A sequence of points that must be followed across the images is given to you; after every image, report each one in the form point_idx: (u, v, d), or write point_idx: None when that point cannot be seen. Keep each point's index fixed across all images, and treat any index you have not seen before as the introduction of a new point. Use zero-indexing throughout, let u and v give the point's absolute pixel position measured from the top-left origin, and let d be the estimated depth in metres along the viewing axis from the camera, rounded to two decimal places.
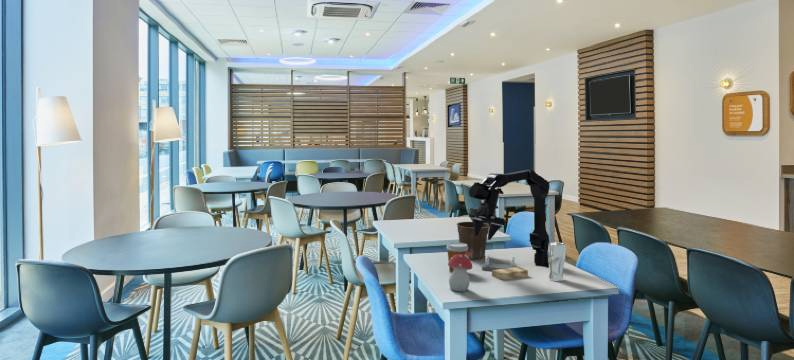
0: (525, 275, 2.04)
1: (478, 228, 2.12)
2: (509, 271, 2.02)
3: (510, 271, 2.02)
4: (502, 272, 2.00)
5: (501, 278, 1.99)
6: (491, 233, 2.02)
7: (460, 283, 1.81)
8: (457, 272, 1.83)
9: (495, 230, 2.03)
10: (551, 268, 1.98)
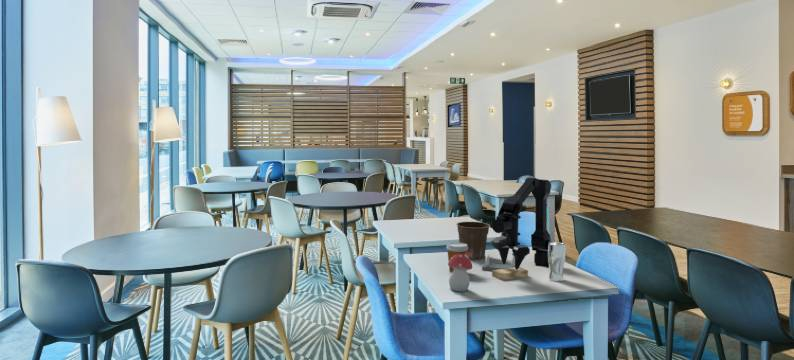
0: (525, 275, 2.04)
1: (504, 255, 2.08)
2: (509, 271, 2.02)
3: (510, 271, 2.02)
4: (502, 272, 2.00)
5: (501, 278, 1.99)
6: (517, 263, 1.98)
7: (460, 283, 1.81)
8: (457, 272, 1.83)
9: (521, 259, 1.98)
10: (551, 268, 1.98)
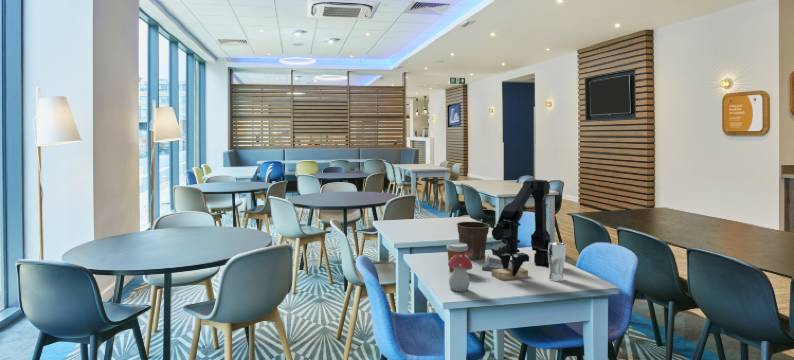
0: (525, 275, 2.03)
1: (506, 263, 2.07)
2: (509, 271, 2.02)
3: (510, 271, 2.02)
4: (501, 272, 2.01)
5: (500, 278, 1.99)
6: (515, 269, 2.00)
7: (460, 283, 1.81)
8: (457, 272, 1.83)
9: (518, 265, 2.00)
10: (551, 268, 1.98)
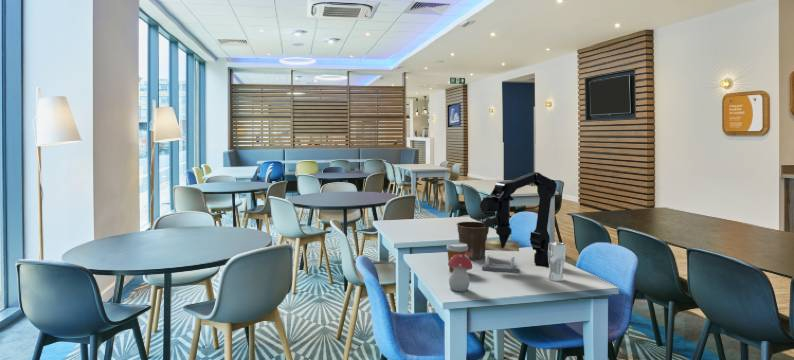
0: (516, 249, 2.09)
1: None
2: (498, 243, 2.11)
3: (499, 243, 2.11)
4: (490, 243, 2.11)
5: (487, 248, 2.10)
6: (502, 241, 2.08)
7: (460, 283, 1.81)
8: (457, 272, 1.83)
9: (505, 238, 2.07)
10: (551, 268, 1.98)
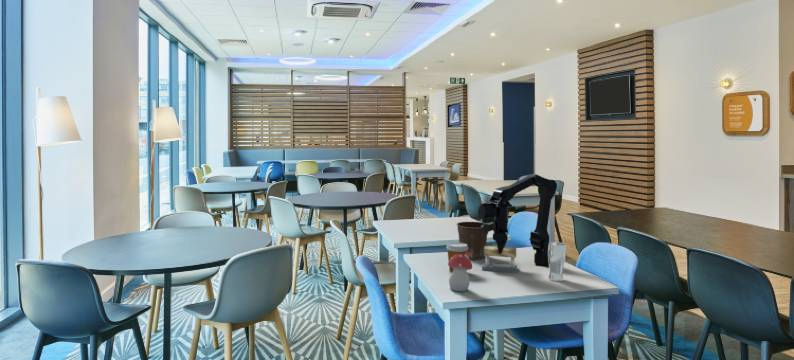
0: (513, 255, 2.10)
1: None
2: (496, 248, 2.13)
3: (497, 249, 2.13)
4: (488, 248, 2.14)
5: (485, 253, 2.13)
6: (499, 247, 2.10)
7: (460, 283, 1.81)
8: (457, 272, 1.83)
9: (502, 244, 2.09)
10: (551, 268, 1.98)
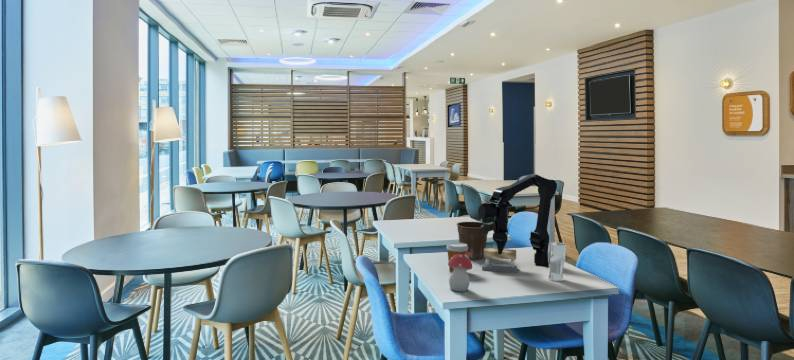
0: (513, 257, 2.10)
1: None
2: (496, 251, 2.13)
3: (497, 251, 2.13)
4: (488, 250, 2.14)
5: (484, 255, 2.13)
6: (499, 248, 2.09)
7: (460, 283, 1.81)
8: (457, 272, 1.83)
9: (502, 245, 2.08)
10: (551, 268, 1.98)
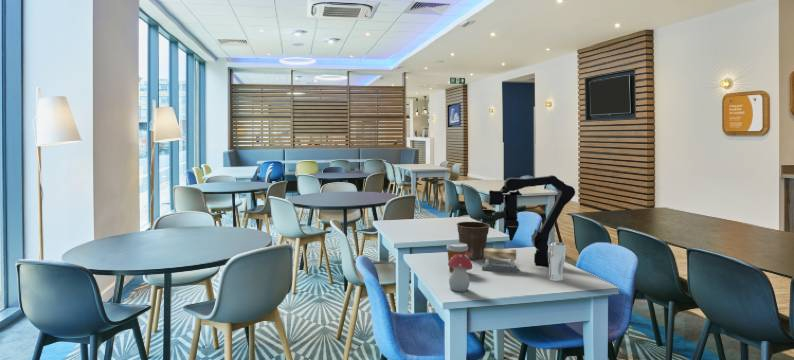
0: (513, 257, 2.10)
1: None
2: (496, 251, 2.13)
3: (497, 251, 2.13)
4: (488, 250, 2.14)
5: (484, 255, 2.13)
6: (510, 234, 2.19)
7: (460, 283, 1.81)
8: (457, 272, 1.83)
9: (513, 231, 2.18)
10: (551, 268, 1.98)
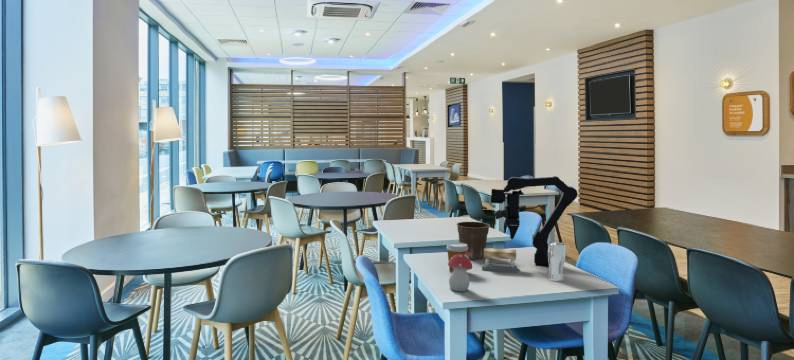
0: (513, 257, 2.10)
1: None
2: (496, 251, 2.13)
3: (497, 251, 2.13)
4: (488, 250, 2.14)
5: (484, 255, 2.13)
6: (511, 233, 2.21)
7: (460, 283, 1.81)
8: (457, 272, 1.83)
9: (514, 230, 2.20)
10: (551, 268, 1.98)
